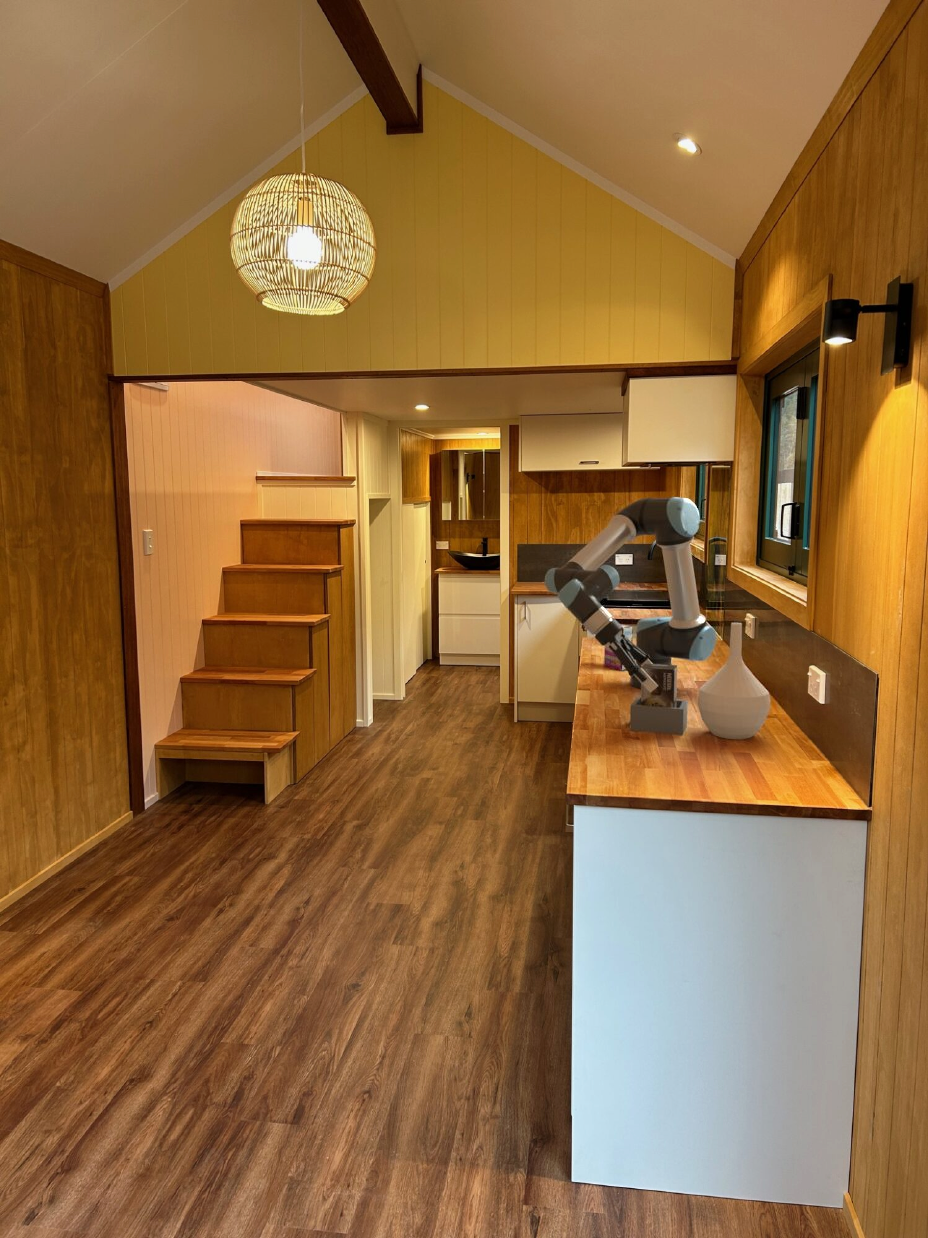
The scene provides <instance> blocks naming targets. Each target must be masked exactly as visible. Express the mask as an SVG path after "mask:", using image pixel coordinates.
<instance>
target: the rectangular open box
mask: <svg viewBox="0 0 928 1238" xmlns="http://www.w3.org/2000/svg"><path fill="white" fill-rule="evenodd" d="M629 717H630V718H629V730H630V731H632V732H643V733H653V734H654V733H655V734H664V735H677V736H678V735H679V736H684V733H685V730H686V728H687V726H688V700H686V699H685V700H684V699H676V708H674V707H661V706H647V705H641V696H636V697H635V699H633V701H632V702H631V704H630V715H629Z"/></svg>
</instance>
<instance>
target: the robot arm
mask: <svg viewBox="0 0 928 1238" xmlns="http://www.w3.org/2000/svg"><path fill="white" fill-rule="evenodd" d="M700 518H701V517H700V512H699V509H698V508H697V505H696V504H695V503H694V501H692V500H691V499H689V498H686V497H679V496H678V497H677V496H674V497H671V496H670V497H645V498H641V499H637V500H635V501H633V502H631V503H630V504H628V505H626V506H625V507H623V508H622V509H620V510H619V511H618V512H616V513H615V514H614V515H613V516H612V517H611V518H610V520H609V524H608V525H607V526H606V527H604V529H603V530H601V531H600V532H599V533H598V534H597V535H596V536H595V537H593V538H592V540H590V541H589V542H588V543H587V544H585V546H584V547H583V548H582V549H581V550H579V551H578V552H577V553H576V554H575V555H574V556H573V557H572V558H571V559H569V560H568V561H567V562H566V563H565V564H564V565H563V566H562V567H555V568H554V567H552V568H550V569H548V571H547V572H546V574H545V576H544V584H545V588H546V589H547V590H548V592H550V593H553V594H557V598H558V600H559V601H560V602H561V603H562V604H563V606H564V607H565V608H566V609H567V610H568V611H569V612H570V613H571V614H572V615H573V616H574V617H575V618H576V620H577V621H578V622H579V623H581V624H582V626H583V627H584V631H588V632H589V633H590V634H591V635H595V636H594V639H596V641H597V642H599V644H600V645H601V646H604V647H605V645H606V644H607V643H608V642H609V643H610V645H609V648H610V649H611V650H612V651H613V652H614V654H615V655H616V656H617V658H618V659H619V661H620V662H621V663H622V665H623V666H624V667H625V669H626V671H627V673H628V676H629V677H630V678H629V679H630V686H632V687H634V688H638V689H641V683H642V684H643V686H644V687H645V688H646V689H647V690H648V691H649V692H650V693H651V692H652V691H653V690H654V689H656V688H657V687H658V685H657V684H656V683H655V682H654V681H653V680H652V678H651V677H650V676H649V675H648V674H647V673H646V672H645V671H644V670H643V669H642V667H643V665H644V664H661V665H673V663H672V658H673V659H680V660H684V661H686V660H687V661H690V662H703V661H705V660H708V659H709V657H710V656H711V654H712V653H713V651H714V649H715V645H716V642H717V641H716V640H717V633H716V629H715V628H714V627H713V626H711V625H707V618H706V616H705V615H703V614H702V613H701V612H700V611H701V610H700V605H699V599H698V598H699V597H698V590H697V589H698V588H697V584H696V577H695V571H694V570H695V569H694V563H693V556H692V550H691V549H692V548H691V543H692V542H693V541H694V539H695V536H694V535H696V533H698V532H699V531H698V530H699V528H700V525H699V524H701V523H700V521H701V519H700ZM641 536H654V537H655V544H656V545H657V547H659V548H661V552H662V556H663V563H664V564H663V565H664V570H665V577H666V583H667V589H668V596H669V602H670V603H669V604H670V608H671V609H670V610H671V615H672V616H657V617H648V618H647V617H646V618H640V619H639V620H638V622H637V623H636V631H635V633H636V644H635V643H634V642H633V641H632V642H631V641H630V640H629V639H628V638H627V637H626V636H625V635H624V634H622V635H619V634H618V633H619V632H620V631H621V630H622V629H623V627H622V626H621V625H622V624H621V623H620V622H619V621H618V620H616V619H615V618H613V615H612V614H611V613H610V612H609V611H608V610H607V609H606V608H605V607H604V606H603V605H602V603H601V601H602V600H603V599H605V598H606V597H607V596H609V595H610V594H611V593H613V592H614V590H615V589H617V587H618V586H619V584H620V580H621V579H620V575H619V572H618V570H616V569H615V567H613V566H612V565H608V564H604V563H605V562H606V561H607V560H609V558H610V557H611V556H612V555H614V554H615V553H616V552H617V551H618V550H619V549H620V548H622V547H623V545H624V544H626V543H630V542H633V541H634V539H636V538H637V537H641ZM620 624H621V625H620Z"/></svg>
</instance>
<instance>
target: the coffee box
mask: <svg viewBox="0 0 928 1238" xmlns="http://www.w3.org/2000/svg"><path fill="white" fill-rule="evenodd" d="M642 669H643V670H644V671H645V672H646V673H647V674H648V675H649V676H650V677H651V678H652V680H653V681H654V682H655V683H656V684H657V685H658V687H657V688H656V689H654V690H653V691H652V692H651V693H650V692H649V691H648V690H647V689H646V688H645V687H644V686H643V684H642V683H641V688H640V697H641V705H647V706H661V707H674V708H676V700H678V699H677V694H678V693H677V692H678V689H677V687H678V684H677V683H678V665H676V664H672V665H661V664H644V665H643V667H642Z"/></svg>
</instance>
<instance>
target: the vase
mask: <svg viewBox="0 0 928 1238" xmlns="http://www.w3.org/2000/svg"><path fill="white" fill-rule="evenodd" d="M742 628H743V623H742V622H731V624H730V635H729V636H730V637H729V639H730V640H729V655H728V658H727V660H726V662H725V663H724V664H723V665H722V667H721V668H719V670H718V671H716V673H714V674H713V676H712V677H710V678H709V679H708V680H707V681H706V682H704V684H703V685H701V687H699V691H698V695H697V707H698V710H699V712H700V713H699V714H700V717H701V720H702V721H703V723H704V725H705V726H706V728H707V729H708V731H709V732H710V733H711V734H712V735H714V736H715V737H718V738H722V739H727V740H746V739H750V738H752V737H754V736H755V735H756V734H757V733H758V732H759V731H760V730H761V728H762V727H763V726H764V724H765V722H766V720H767V717H768V715H769V713H770V709H771V697H770V696H771V695H770V692H769V691H768V690H767V689H766V687H765V686H764V685H763V684H762V683H761V682H760V681H759V680H758V679H757V677H755V675H754V674H753V672H752V671H751V670H750V669H749V668H748V667H747V666H746V663H745V662H744V661H743V657H742V647H743V646H742V643H743V642H742V640H743V638H742V637H743V633H742V632H743V631H742V630H743V629H742Z"/></svg>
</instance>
